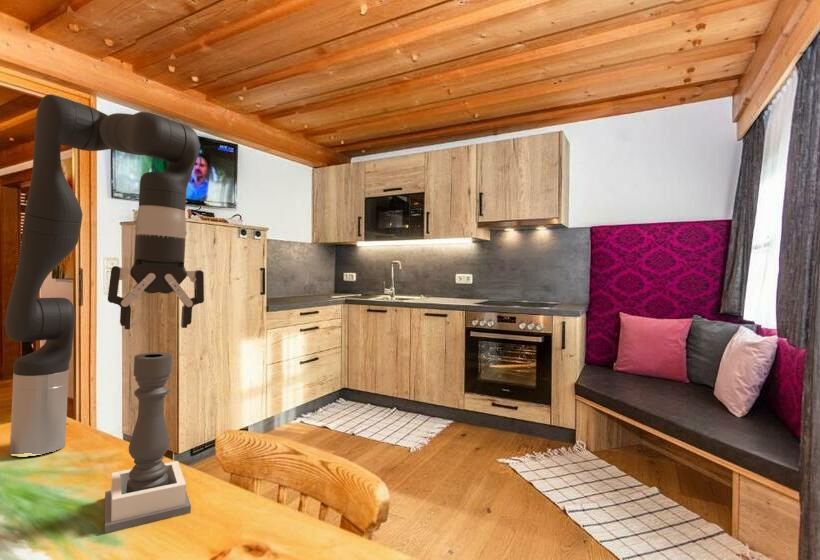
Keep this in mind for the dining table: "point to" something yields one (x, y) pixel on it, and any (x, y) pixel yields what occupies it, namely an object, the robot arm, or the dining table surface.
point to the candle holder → (150, 422)
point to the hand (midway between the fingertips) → (156, 328)
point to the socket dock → (145, 500)
